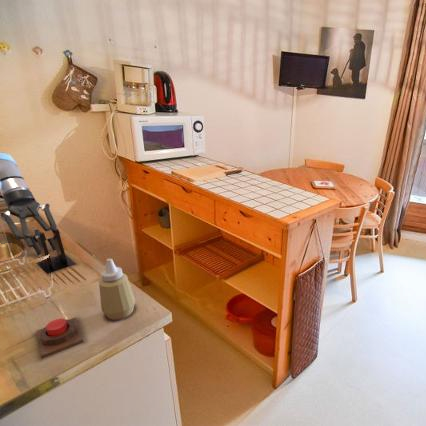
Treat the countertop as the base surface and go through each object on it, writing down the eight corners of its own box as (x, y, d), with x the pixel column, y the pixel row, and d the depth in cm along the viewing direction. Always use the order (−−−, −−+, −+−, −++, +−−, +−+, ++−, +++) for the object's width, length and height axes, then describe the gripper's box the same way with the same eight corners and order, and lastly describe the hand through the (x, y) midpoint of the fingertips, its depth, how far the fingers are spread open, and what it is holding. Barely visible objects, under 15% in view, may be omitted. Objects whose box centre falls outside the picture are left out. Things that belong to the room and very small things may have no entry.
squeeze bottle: (118, 328, 84) (106, 271, 77) (96, 319, 87) (82, 263, 80) (143, 309, 92) (134, 256, 84) (122, 301, 94) (111, 249, 87)
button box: (38, 335, 80) (34, 325, 79) (77, 322, 85) (74, 311, 84) (42, 361, 74) (38, 349, 72) (84, 344, 79) (81, 333, 77)
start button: (46, 329, 78) (44, 323, 77) (66, 322, 81) (65, 316, 80) (48, 339, 76) (46, 332, 75) (69, 331, 78) (67, 325, 77)
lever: (34, 244, 109) (30, 235, 109) (47, 241, 112) (43, 231, 112) (44, 241, 101) (39, 231, 100) (57, 237, 103) (53, 227, 103)
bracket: (36, 265, 107) (25, 229, 101) (64, 256, 113) (55, 221, 108) (48, 277, 102) (36, 239, 96) (76, 266, 108) (67, 230, 103)
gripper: (45, 193, 120) (74, 246, 118) (-16, 205, 107) (15, 264, 105) (47, 183, 115) (77, 238, 113) (-17, 194, 102) (15, 256, 100)
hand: (47, 251), depth 109 cm, fingers closed on lever, 4 cm apart
